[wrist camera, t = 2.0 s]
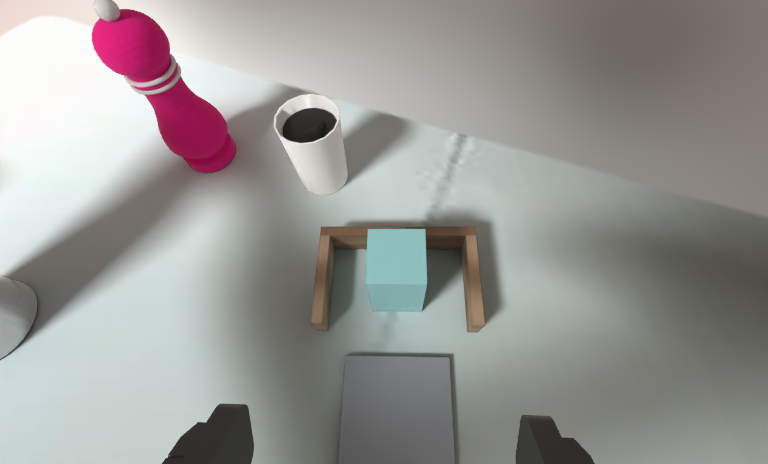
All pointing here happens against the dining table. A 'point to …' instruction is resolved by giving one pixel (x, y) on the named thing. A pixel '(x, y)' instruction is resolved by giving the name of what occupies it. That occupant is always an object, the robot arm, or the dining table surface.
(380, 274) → the teal block
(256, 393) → the dining table surface
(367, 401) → the slate mat
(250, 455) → the robot arm
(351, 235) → the walnut cubby
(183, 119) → the pepper mill
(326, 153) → the white paper cup
